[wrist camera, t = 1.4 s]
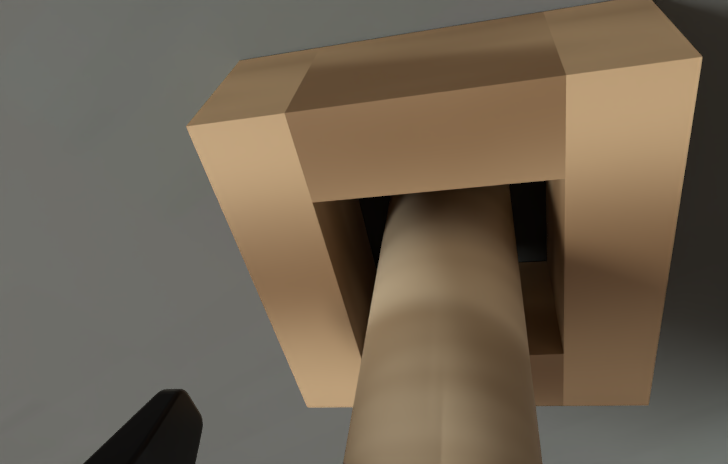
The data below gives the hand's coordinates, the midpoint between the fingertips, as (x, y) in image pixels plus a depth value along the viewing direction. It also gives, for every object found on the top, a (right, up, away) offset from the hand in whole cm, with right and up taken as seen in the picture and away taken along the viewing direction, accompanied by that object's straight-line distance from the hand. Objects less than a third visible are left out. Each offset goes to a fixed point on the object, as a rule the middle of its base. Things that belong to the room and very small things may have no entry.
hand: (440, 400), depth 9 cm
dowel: (+1, +4, +4) cm, 6 cm away
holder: (+1, +4, +4) cm, 6 cm away
